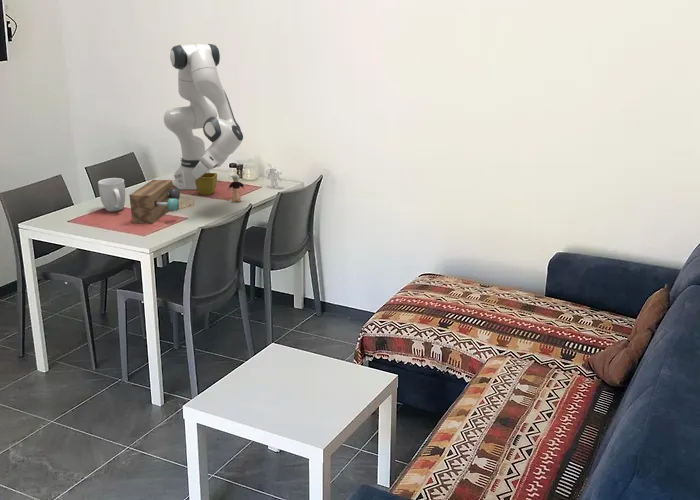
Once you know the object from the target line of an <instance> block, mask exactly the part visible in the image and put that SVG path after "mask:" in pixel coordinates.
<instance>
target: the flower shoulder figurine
mask: <svg viewBox="0 0 700 500" xmlns="http://www.w3.org/2000/svg"><path fill="white" fill-rule="evenodd" d="M266 164H267V167H268V168H266V169H265V170H264V172H265V173H266V174H267V180H268V181H269V180H270V187H269V188H271V189H279V187H280V186H279V183H278V181H279V182H280V183H281V182H282V180H283V179H282V178H281V177H280V176H281V175H283V172H282V170H281V169H278V167H276V165H274V164H273V165H272V164H270V163H266Z"/></svg>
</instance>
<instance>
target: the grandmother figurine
mask: <svg viewBox="0 0 700 500" xmlns="http://www.w3.org/2000/svg"><path fill="white" fill-rule="evenodd" d="M231 178H232V182H231V183H230V184H229V185H228V187H227V191H229V192H230V191H231V199H232V200H231V203H235V202H237V203H240V202H242V200H241V198H242V197H241V194H242V192H241V188H242V190H246V188H245V185H244V184H243V183H242V182H241V181H239V180H240V176H239V175H238V174H236V173H235V174H233V175H232V177H231Z"/></svg>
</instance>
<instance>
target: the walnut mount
mask: <svg viewBox="0 0 700 500" xmlns="http://www.w3.org/2000/svg"><path fill="white" fill-rule="evenodd" d="M172 181H173V180H171V179H151V180H150V181H149V182H147V183H145V184H144V185H143V186H141V187H140V188H138V189H137V190H135V191H134V192H132V193H130V194H129V203H130V204H129V205H130V211H131V212H130V214H131V220H132V223H133V224H154V223H155V221H156V222H157V221H159V219H161V218H162V217H163V216H165V214H167V213H168V212H170V210H168V207H167V206H157V205H156V203H157V202H168V199H169V196H168V192H169V191H170V189H174V185H173V183H172Z"/></svg>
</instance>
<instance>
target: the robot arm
mask: <svg viewBox="0 0 700 500" xmlns="http://www.w3.org/2000/svg"><path fill="white" fill-rule="evenodd" d="M169 58H170V62H171V65H172V67H173V68H174V69H176V70H178V72H177V78H178V81H177V82H178V94H179V96H180V97H181V98H182V99H184V100H186V101H187V102H189V105H188V106H187V105H186V106H177V107H173V108H170V109H168V110H166V111H165V112H164V115H163V123H164V126H165V127H166V128H167V129H168V130H169V131H171V132H172V133H173V134H174V135H175V136H176V137H177V139H178V141H179V144H180V149H181V156H182V157H181V158H180V166H179V167H178V168H177V169H176V170H175V172H174V175H173V176H174V179H173V180H172V183H173V187H175V188H176V189H179V191H182V190H197V187H196V182H195V180H196V179H198V178H200V177H201V176H202V175H203V174H205V173H211V170H213V169H215V168H220V167H221V166H222V165H223V164H224V163H225V162H226V161H227V160H228V158H229V156H230V155H232V154H233V153H234V152H235V151H236V150H237V149H238V148H239V146H240V145H241V144H242V142H243V140H244V134H243V132H242V129H241V127H240V125H239V123H237V121H236V119H235V116H234V114H233V110H232V107H231V104H230V101H229V98H228V95H227V93H226V91H225V88H224V87H223V85H222V83H221V79H220V77H219V74H218V70H217V66H218V65H219V64H220V60H221V53H220V50H219V48H218V46H217V45H216V44H211V43H208V44H206V43H190V44H183V45H181V44H177V45H175V46H173V47H172V48H171V49H170V54H169ZM206 98H207V99H208V100H209V101H210V102H211V103H212V104H213V105H214V107H213V105H211V104H209V102H208V101H207V100H206ZM196 129H197V130H199V129H202V130H203V134H204V136H205V137H206V138H207V139H208V140H209V141H210V142H211V144H210V146H209V147H208V148H207V149H206V144H205V141H204V139H203V138H201V137H199V136H196V135H194V134H193V130H196Z"/></svg>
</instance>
